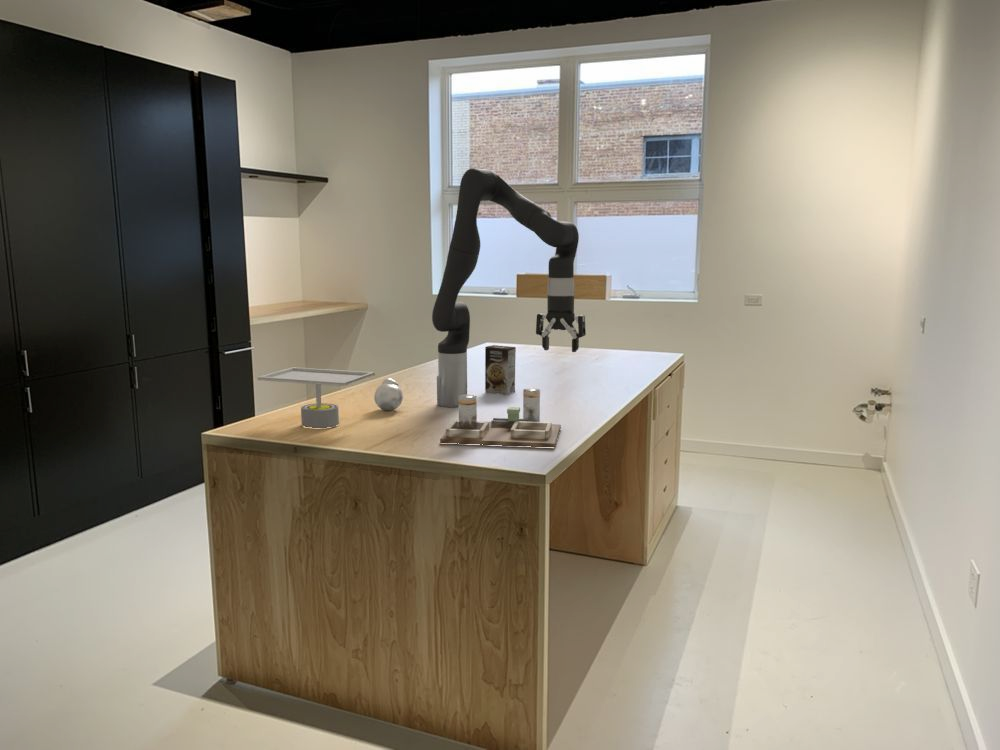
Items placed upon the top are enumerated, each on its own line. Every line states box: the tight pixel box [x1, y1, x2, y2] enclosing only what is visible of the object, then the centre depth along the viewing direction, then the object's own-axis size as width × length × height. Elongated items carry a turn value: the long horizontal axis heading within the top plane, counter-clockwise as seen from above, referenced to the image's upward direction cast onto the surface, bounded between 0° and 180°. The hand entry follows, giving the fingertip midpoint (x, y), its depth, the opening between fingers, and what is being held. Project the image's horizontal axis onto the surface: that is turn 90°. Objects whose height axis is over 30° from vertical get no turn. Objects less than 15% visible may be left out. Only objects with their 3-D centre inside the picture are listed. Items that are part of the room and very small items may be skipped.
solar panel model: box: [257, 366, 376, 428], centre depth 214 cm, size 28×17×15 cm, turn 71°
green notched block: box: [506, 406, 521, 421], centre depth 209 cm, size 3×3×5 cm
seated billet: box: [458, 394, 478, 430], centre depth 200 cm, size 5×5×10 cm
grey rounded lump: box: [373, 377, 404, 412], centre depth 234 cm, size 9×10×10 cm
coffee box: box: [484, 344, 517, 395], centre depth 260 cm, size 9×6×16 cm
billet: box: [522, 387, 541, 422], centre depth 217 cm, size 5×5×10 cm
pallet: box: [439, 417, 562, 448], centre depth 203 cm, size 30×20×4 cm, turn 81°
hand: (560, 350), depth 213 cm, fingers open, 8 cm apart
